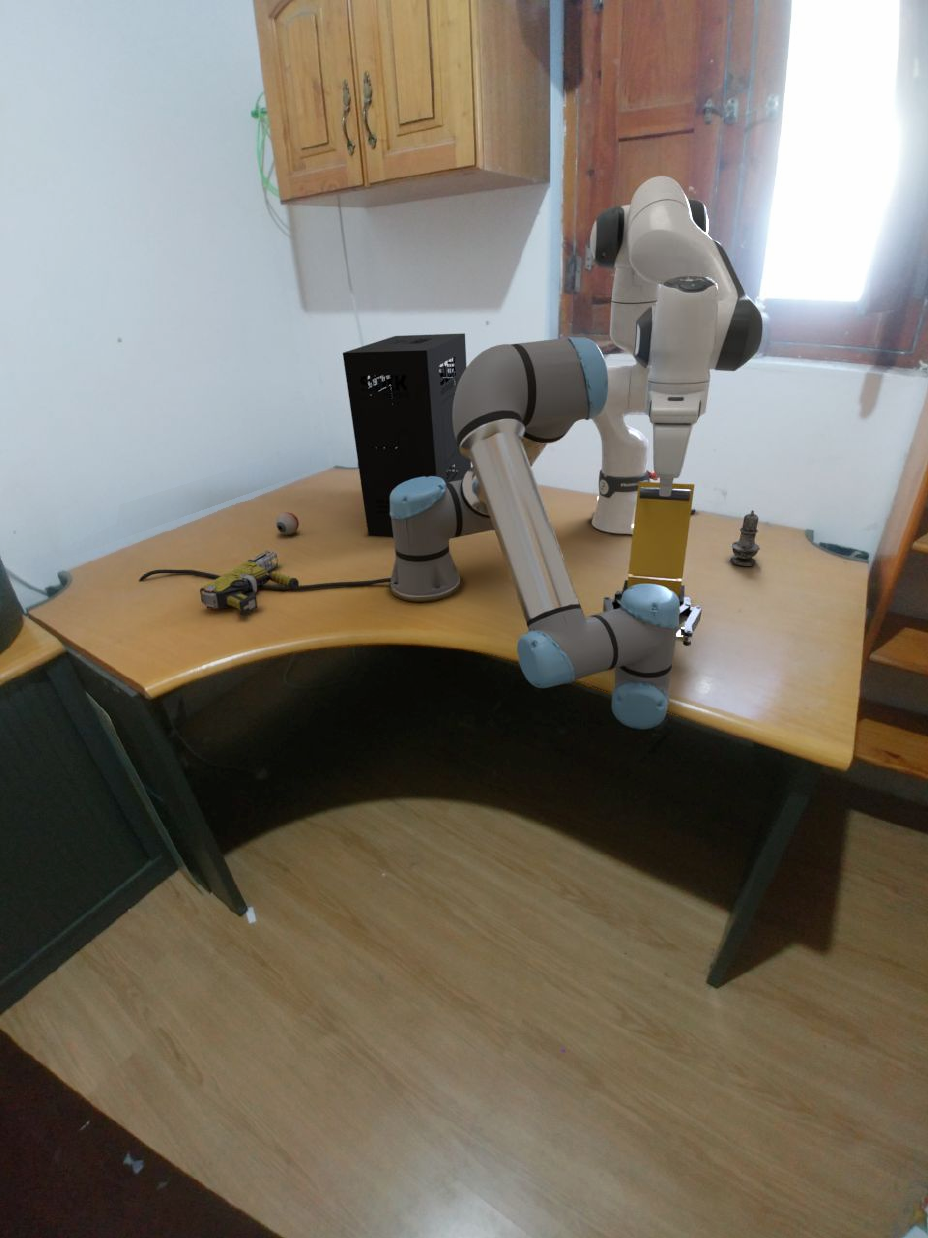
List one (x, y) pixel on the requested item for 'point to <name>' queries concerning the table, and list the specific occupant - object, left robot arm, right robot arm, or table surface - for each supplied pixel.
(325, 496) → the table surface
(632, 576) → the chest
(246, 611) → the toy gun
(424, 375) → the cardboard box
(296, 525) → the eyeball
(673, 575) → the lid
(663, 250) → the right robot arm
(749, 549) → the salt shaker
